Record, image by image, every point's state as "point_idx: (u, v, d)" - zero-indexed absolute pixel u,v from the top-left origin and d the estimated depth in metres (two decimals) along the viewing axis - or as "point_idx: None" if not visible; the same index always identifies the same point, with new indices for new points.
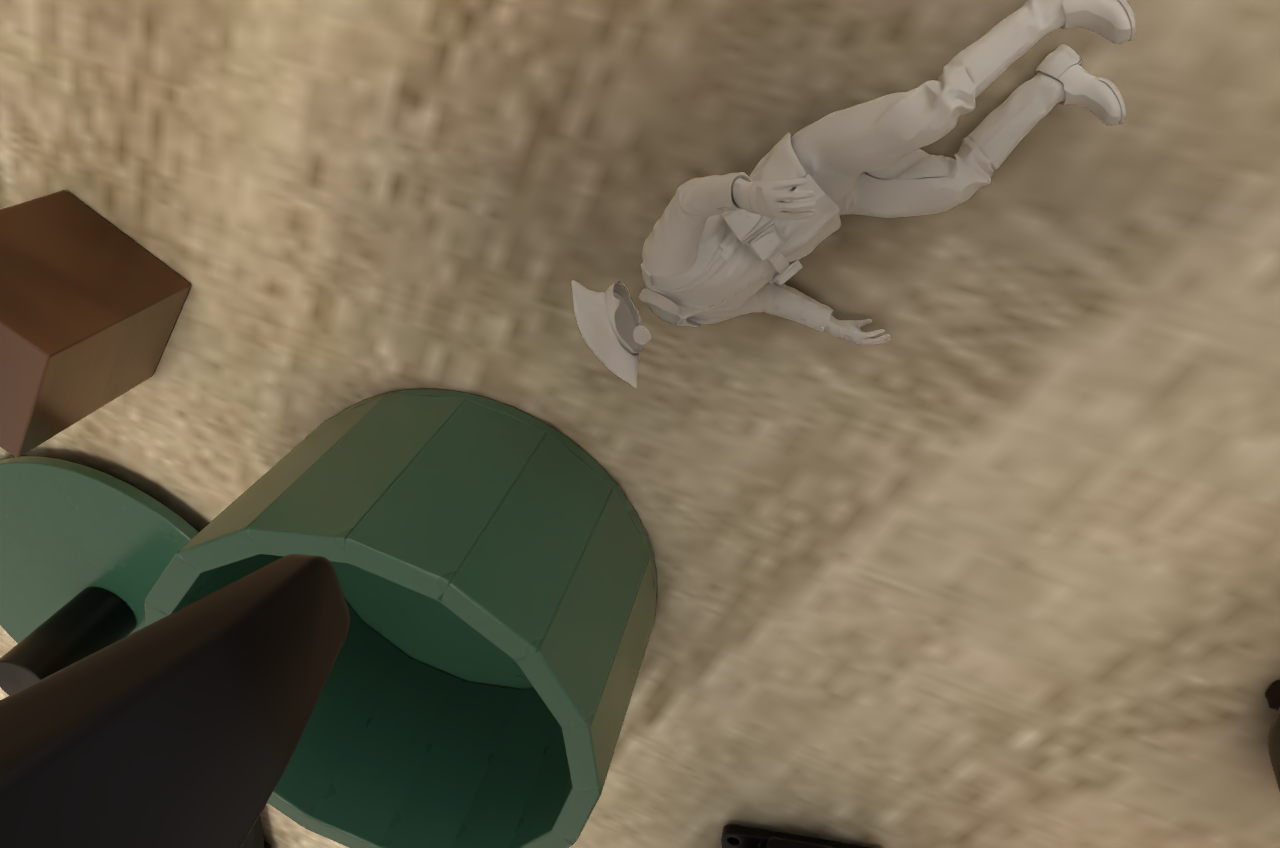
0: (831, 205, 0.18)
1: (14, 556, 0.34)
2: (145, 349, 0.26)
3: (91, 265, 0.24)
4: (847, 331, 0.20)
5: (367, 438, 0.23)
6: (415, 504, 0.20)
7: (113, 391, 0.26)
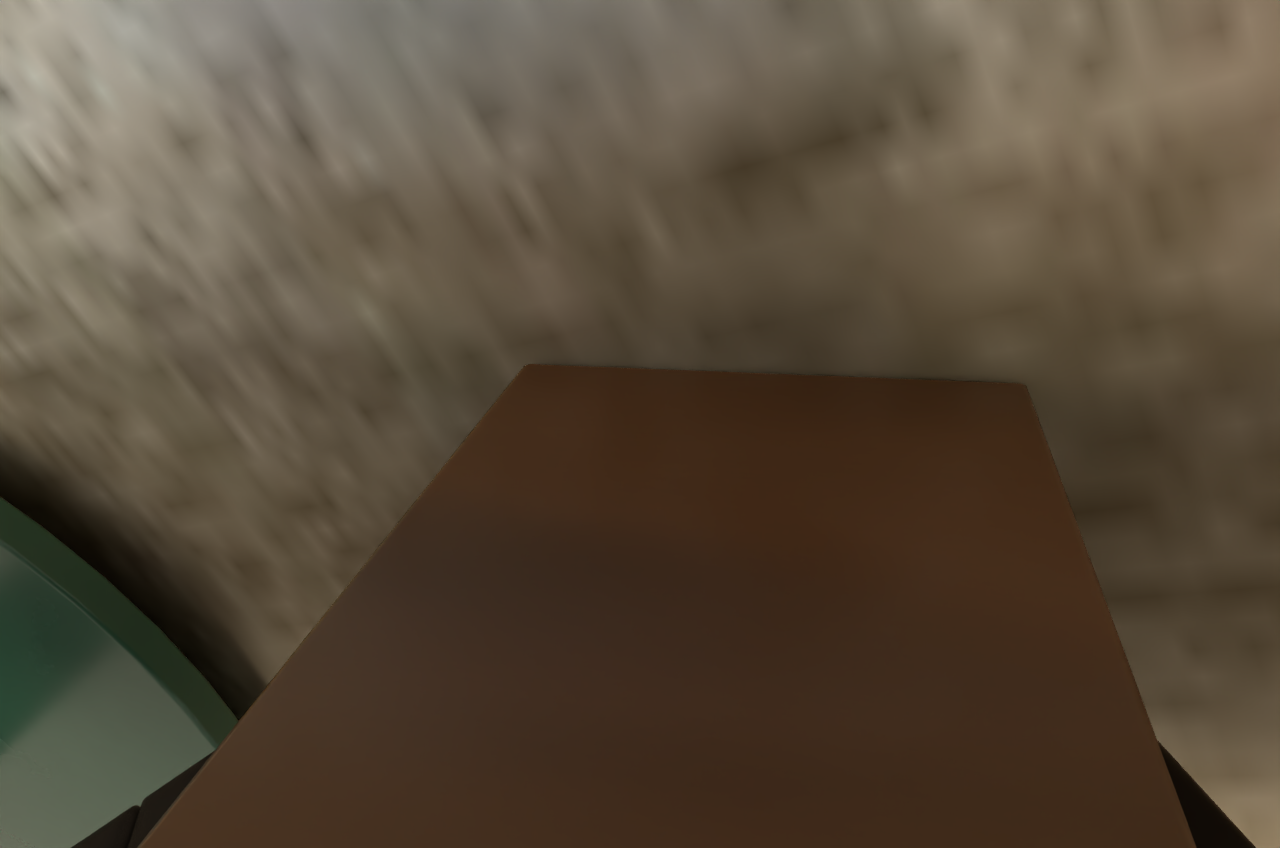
0: None
1: None
2: None
3: None
4: None
5: None
6: None
7: None
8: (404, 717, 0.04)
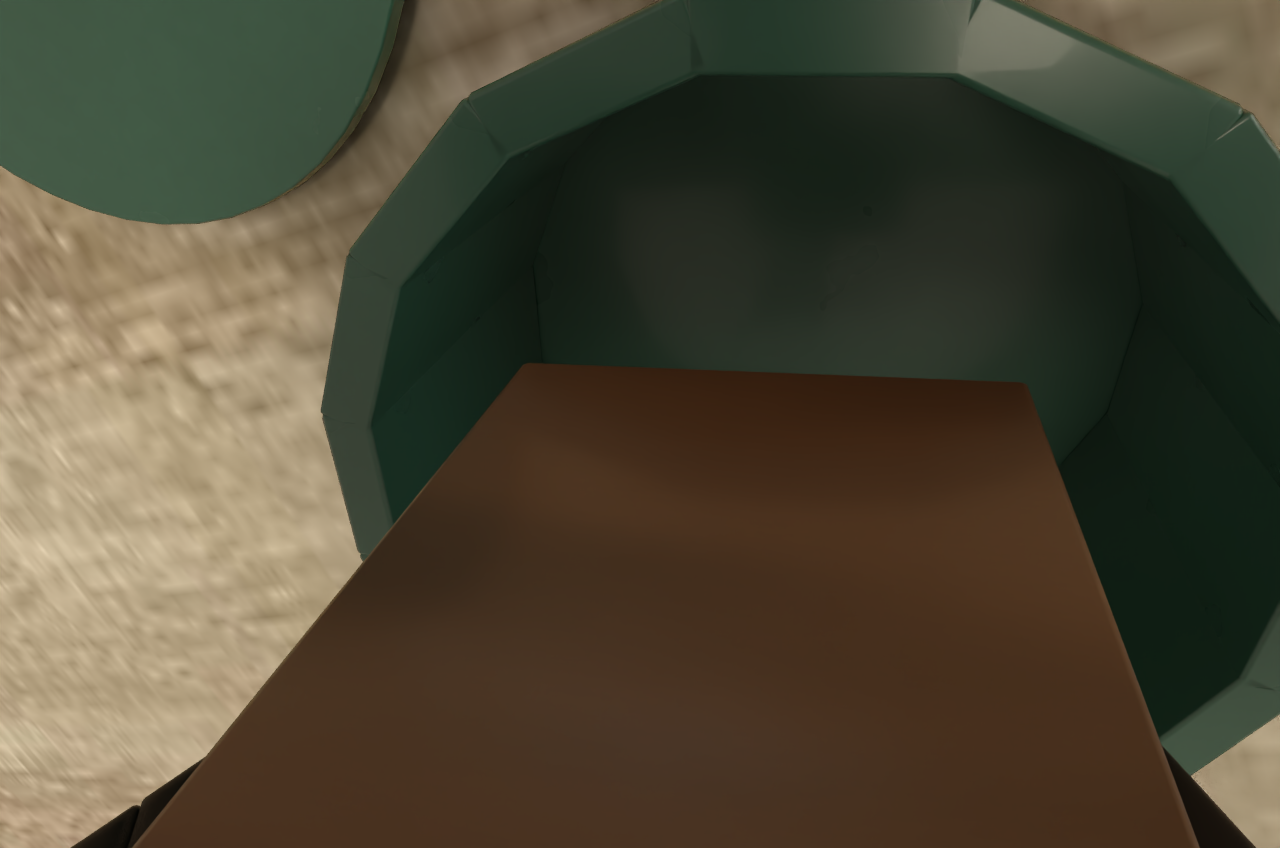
0: None
1: None
2: None
3: None
4: None
5: None
6: None
7: None
8: (401, 717, 0.04)
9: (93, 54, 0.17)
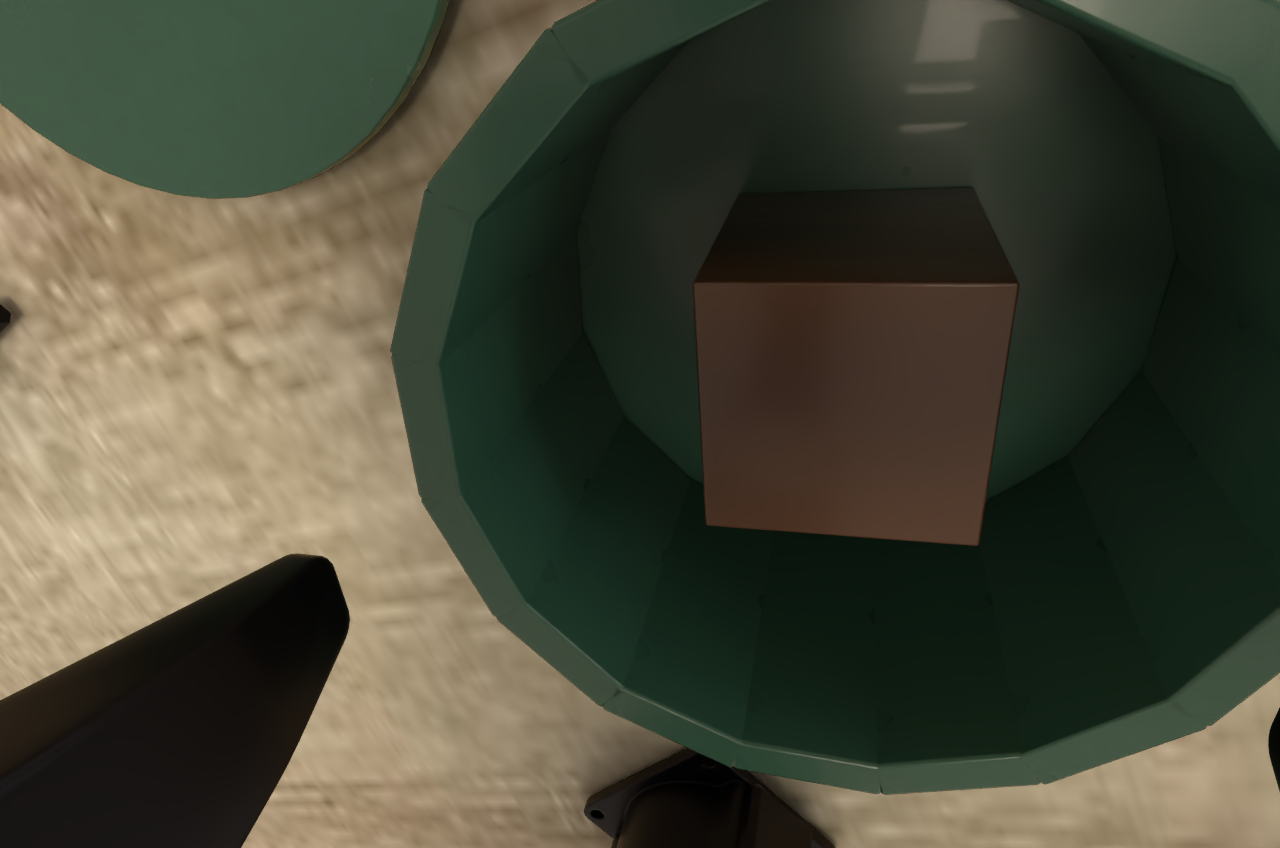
0: None
1: None
2: None
3: None
4: None
5: None
6: None
7: None
8: (760, 256, 0.13)
9: (151, 30, 0.17)
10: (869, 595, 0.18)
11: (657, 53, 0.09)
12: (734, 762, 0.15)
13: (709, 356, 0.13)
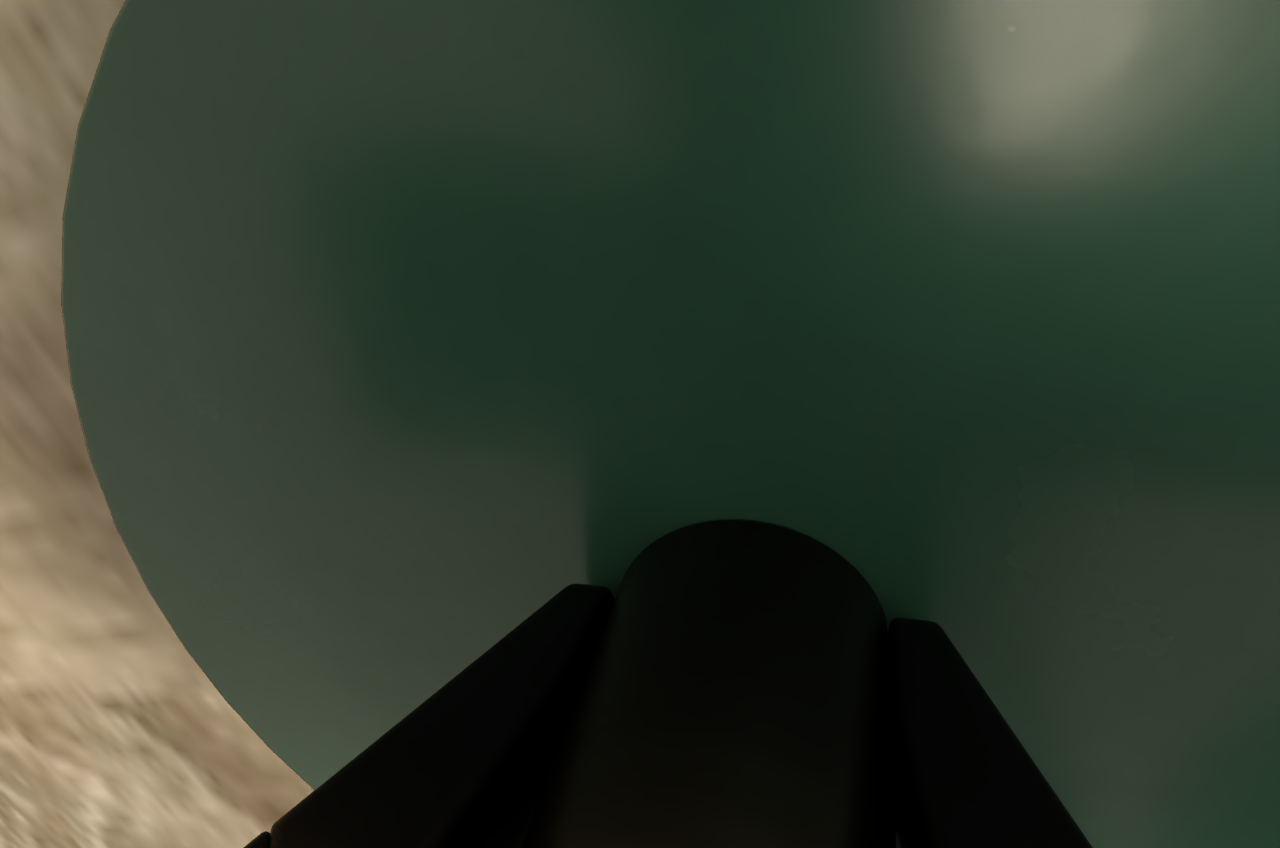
0: None
1: (653, 165, 0.06)
2: None
3: None
4: None
5: None
6: None
7: None
8: None
9: None
10: None
11: None
12: None
13: None
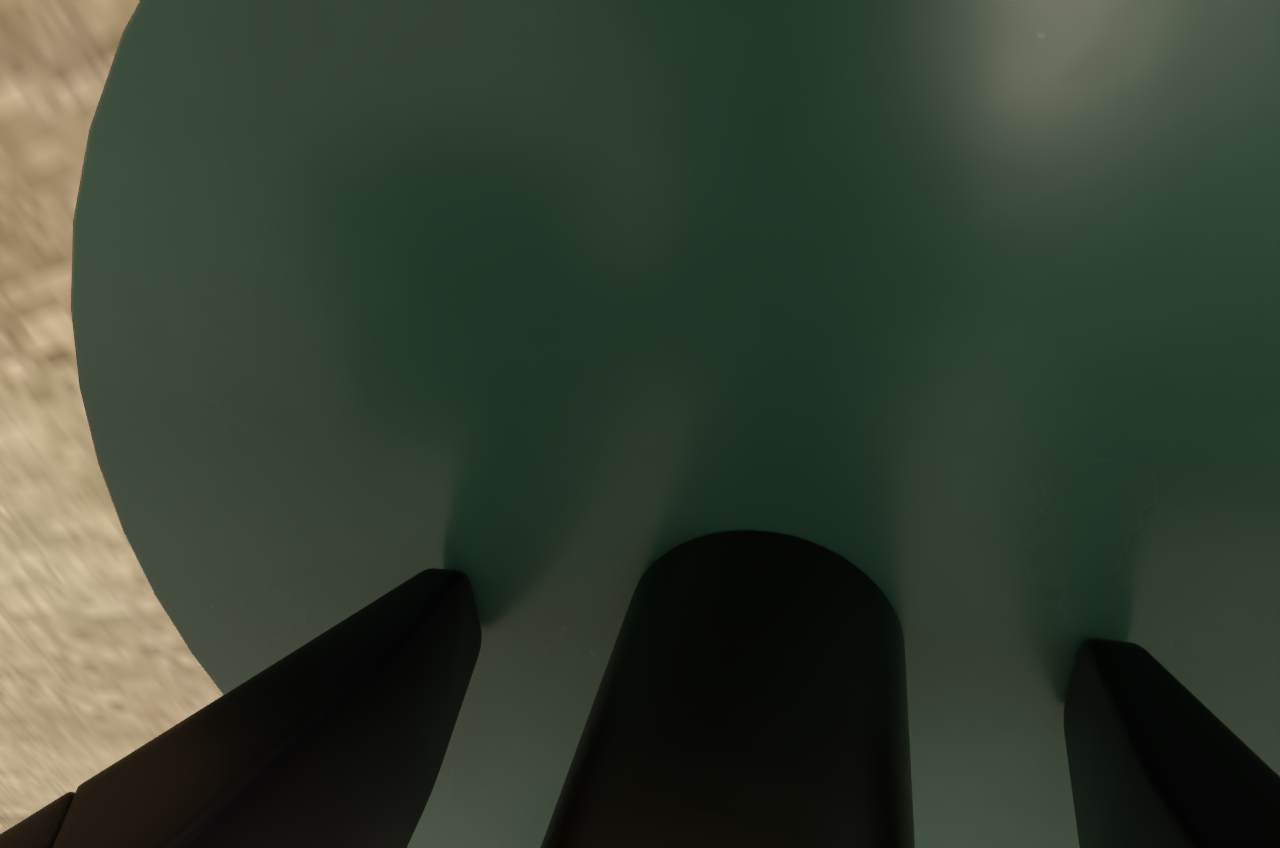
0: None
1: (672, 171, 0.06)
2: None
3: None
4: None
5: None
6: None
7: None
8: None
9: None
10: None
11: None
12: None
13: None
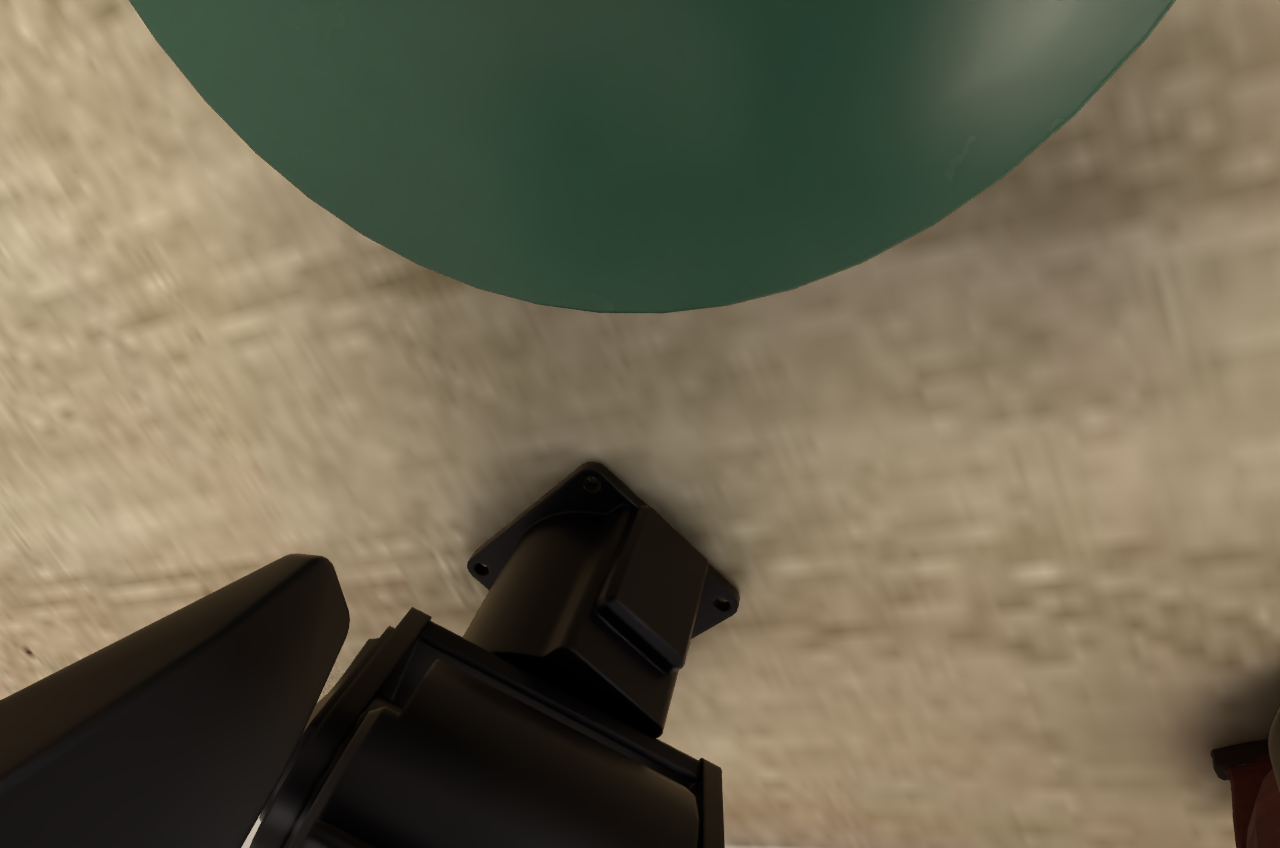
0: None
1: None
2: None
3: None
4: None
5: None
6: None
7: None
8: None
9: (565, 47, 0.10)
10: None
11: None
12: None
13: None
